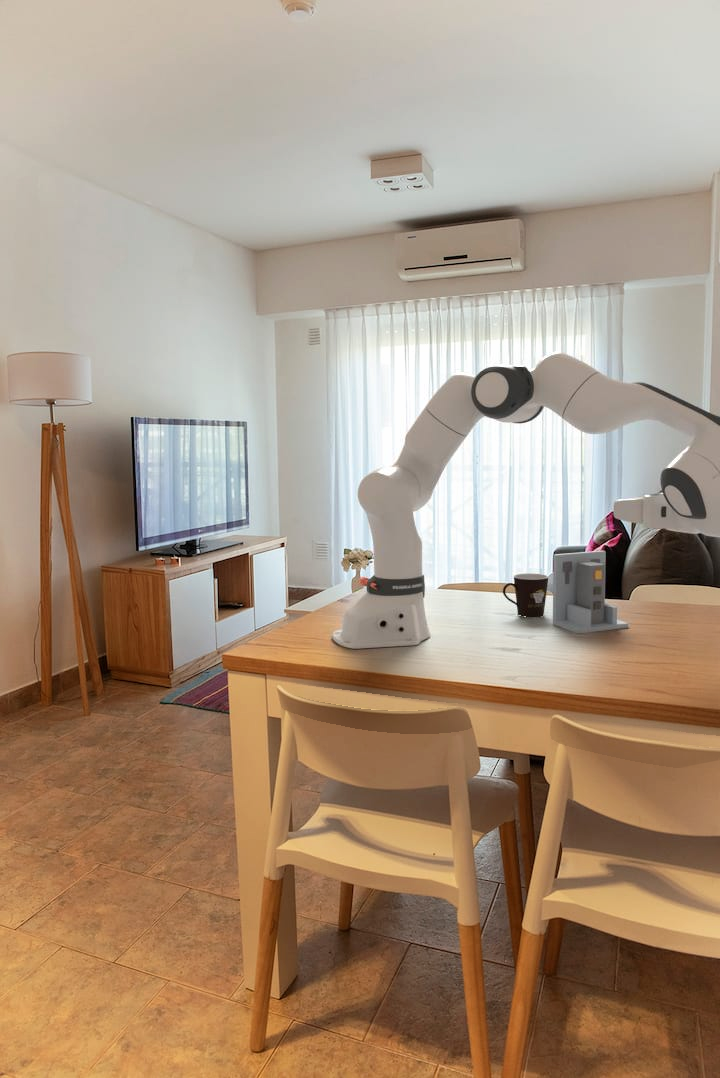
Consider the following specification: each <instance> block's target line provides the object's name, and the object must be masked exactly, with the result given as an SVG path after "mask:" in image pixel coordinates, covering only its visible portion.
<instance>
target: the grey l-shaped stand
mask: <svg viewBox="0 0 720 1078" xmlns="http://www.w3.org/2000/svg"><path fill="white" fill-rule="evenodd" d="M606 553H607V552H606V551H605V550H593V551H579V552H568V553H555V554H553V558H552V559H553V566H552V567H553V570H552V571H553V572H552V576H553V578H552V583H553V584H552V625H554V624H555V625H554V626H556V627H559V626H560V627H559V628H562V629H564V628H565V629H564V630H566V631H570V632H572V631H573V632H572V633H575V634H577V633H579V634H586V633H593V632H594V633H595V632H603V631H610V630H611V631H612V630H619V629H626V628H628V629H629V623H628V622H626V621H622V620H620V619H618V606H614V605H611V604H608V603H606V602H605V600H606V598H605V597H606V581H605V582H604V623H601V624H592V625H591V610H589V609H586V608H583V607H580V606H577V563H581V562H596V563H600V564H604V565H605V566H606V557H607V555H606Z"/></svg>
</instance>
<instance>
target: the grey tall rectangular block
mask: <svg viewBox="0 0 720 1078" xmlns="http://www.w3.org/2000/svg"><path fill="white" fill-rule="evenodd" d="M604 582H605V583H606V564H605V565H604V564H600V563H596V562H581V563H577V606H580V607H583V608H586V609H589V610H591V625H592V624H601V623H604Z"/></svg>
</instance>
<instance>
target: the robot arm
mask: <svg viewBox="0 0 720 1078" xmlns="http://www.w3.org/2000/svg"><path fill="white" fill-rule="evenodd" d="M544 408H548V409H549V410H551V411H552V412H554V413H555V414H557V416H558V417H560V418H561V419H563V420H564V421H565V422H566V423H568V424H569V425H571V426H572V427H574V428H575V429H577V430H579V432H583V433H585V434H590V435H602V434H605V433H606V434H607V433H610V432H613V431H615V430H617V429H620V428H622V427H624V426H626V425H628V424H629V425H630V424H632V423H635V422H640V421H644V420H646V421H647V420H652V421H657V422H659V423H661V424H664V425H665V426H667V427H670V428H672V429H674V430H676V431H678V432H680V433H682V434H684V435H686V436H688V437H690V438H692V439H693V440H692V441H691V442H690V443H689V444H688V445H687V446H686V447H685V448H684V449H683V450H682V452H680V453H679V454H677V455H676V456H675V457H674V459H672V460H671V461H670V462H669V463H668V465H666V467H665V468H664V469H663V470H662V471H661V474H660V487H661V491H662V492H657V493H650V494H645V495H644V496H643V497H635V498H624V499H623V498H622V499H616V500H615V501H614V502H613V513H612V514H613V517H614V518H615V519H616V520H621V521H624V522H628V523H632V524H633V523H634V524H638V525H642V526H643V528H645V529H656V530H659V529H660V530H667V531H672V532H679V533H686V534H693V535H697V534H702V535H704V536H707V537H714V538H720V416H719V415H716V414H713V413H711V412H709V411H707V410H704V409H703V408H700V407H698V406H696V405H695V404H693V403H690V402H688V401H686V400H684V399H682V398H680V397H678V396H675V395H673V394H671V393H669V392H668V391H665V390H663V389H661V388H659V387H656V386H654V385H652V384H650V383H646V382H641V381H636V382H627V381H626V382H624V381H620V380H617V379H613V378H611V377H608V376H606V375H605V374H604V373H602V372H600V371H599V370H597V369H596V368H594V367H593V366H590V365H589V364H587V363H585V362H584V361H582V360H580V359H578V358H576V357H574V356H572V355H569V354H567V353H564V352H561V351H554V352H551V353H548V354H547V355H544V356H543V358H541V359H540V360H539V361H538V363H537V364H536V365H535V366H534V367H533V368H531V369H528V368H527V366H525V365H511V364H496V365H495V364H494V365H490V366H487V367H486V368H484V369H482V370H481V371H480V372H478V373H477V375H474V374H472V373H469V372H465V371H464V372H462V371H461V372H456V373H454V374H453V375H451V376H450V377H449V378H448V379H447V380H446V381H445V382H444V383H443V384H442V385H441V386H440V387H439V389H438V390H437V391H436V392H435V393H434V395H433V396H432V397H431V398H430V400H429V401H428V403H426V405H425V407H424V408H423V410H422V411H421V412H420V414H419V415H418V417H417V418H416V419H415V421H414V422H413V424H412V426H411V427H410V429H409V430H408V431H407V433H406V434H405V437H404V444H403V446H402V449H401V452H400V454H399V456H398V457H397V459H396V461H395V463H394V464H393V465H391V466H387V467H380V468H378V469H377V468H376V469H375V470H373V471H371V472H370V473H368V474H366V476H364V477H363V478H362V480H360V483H359V485H358V488H357V499H358V502H359V505H360V506H361V507H362V509H363V511H364V512H365V514H366V517H367V520H368V525H369V528H370V533H371V537H372V546H373V570H374V571H373V572H374V573H373V575H372V576H371V577H370V578H367V577H366V576H361V577H360V579H359V584H360V585H361V586H363V587H366V593H364V594H363V595H362V596H361V597H360V598H358V600H356V601H355V602H353V604H351V605H350V606H349V607H348V608H346V610H344V612H343V613H344V614H343V616H342V623H341V624H342V625H341V629H337V630H334V631H333V632H332V640H333V641H334V642H335V643H337V644H338V645H339V646H341V647H344V648H348V649H371V648H373V649H375V648H388V647H404V646H405V647H406V646H418V645H419V644H421V642H422V641H424V640H426V639H427V640H428V638H430V637H431V632H430V628H429V626H428V622H427V621H428V620H427V616H426V609H425V602H424V601H425V600H424V599H425V595H426V594H425V592H426V585H425V584H426V583H425V575H424V573H423V541H422V538H421V537H420V535H419V533H418V530H417V527H416V526H417V525H416V522H415V516H414V513H415V512H417V511H419V510H420V509H421V508H423V507H424V506H425V505H427V503H428V502H429V501H430V499H431V498H432V496H433V493H434V490H435V488H436V485H437V484H438V483H439V480H440V478H441V476H442V474H443V472H444V470H445V468H446V467H447V465H448V463H449V462H450V460H451V459H452V458H453V456H454V455H455V453H456V452H457V451H458V449H460V447H461V445H462V444H463V442H464V441H465V440H466V438H467V437H468V436H469V434H470V432H471V431H472V430H473V428H474V427H475V425H477V423H478V422H479V421H481V419H482V418H484V417H487V418H488V419H491V420H493V419H494V420H495V421H498V422H502V423H506V424H507V423H508V424H509V423H512V424H525V423H528V422H531V421H533V420H535V419H536V418H538V416H540V414H541V413H542V412H543V410H544Z"/></svg>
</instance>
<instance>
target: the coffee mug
mask: <svg viewBox="0 0 720 1078" xmlns="http://www.w3.org/2000/svg"><path fill="white" fill-rule="evenodd" d="M513 582H514V583H512V582H508V583H507V584H505V585H504V586H503V587H502V595H503V596H504V597H505V598H506V599H507V601H509V602H511V603H512V604H514V605H515V606H516V608H517V616H518V615H521V616H526V617H539V618H542V617H541V616H543V615H545V609H546V608H545V607H546V599H547V590H548V583H549V575H547V574H542V573H517V574H514V575H513ZM509 586H512V587H513V588H514V590H515V591H514V592H515V600H516V601H515V600H513V599H511V598H509V596H508V595H507V593H506V589H507V588H508V587H509ZM521 616H520V617H521ZM543 617H544V616H543Z"/></svg>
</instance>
